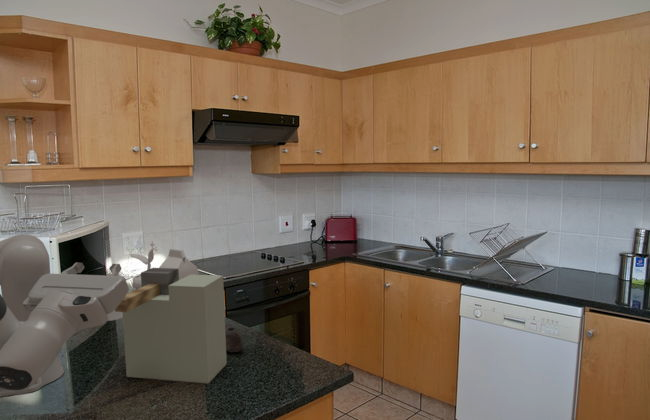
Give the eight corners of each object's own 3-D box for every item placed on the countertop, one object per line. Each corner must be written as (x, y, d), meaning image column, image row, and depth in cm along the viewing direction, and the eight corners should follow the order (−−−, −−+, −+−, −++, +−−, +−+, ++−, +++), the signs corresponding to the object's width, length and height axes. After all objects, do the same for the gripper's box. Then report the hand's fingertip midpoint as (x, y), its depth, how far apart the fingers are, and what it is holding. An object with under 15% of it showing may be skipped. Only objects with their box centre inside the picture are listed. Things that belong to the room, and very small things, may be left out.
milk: (156, 319, 174) (152, 250, 171) (181, 311, 183) (178, 245, 181) (178, 325, 167) (174, 254, 165) (202, 316, 177) (199, 248, 174)
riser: (208, 383, 123) (204, 287, 120) (126, 376, 128) (120, 283, 125) (226, 364, 134) (223, 275, 132) (151, 358, 139) (146, 273, 136)
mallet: (135, 312, 113) (133, 288, 112) (106, 311, 115) (104, 287, 114) (179, 289, 133) (178, 268, 133) (154, 288, 135) (153, 267, 134)
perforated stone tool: (219, 340, 153) (218, 319, 152) (235, 337, 155) (234, 317, 154) (226, 357, 139) (225, 335, 138) (243, 354, 141) (242, 332, 140)
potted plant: (167, 295, 206) (164, 239, 203) (155, 303, 194) (151, 243, 192) (140, 294, 207) (136, 239, 205) (126, 302, 196) (122, 243, 193)
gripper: (25, 319, 98) (65, 273, 109) (111, 324, 94) (144, 276, 105) (10, 298, 95) (52, 253, 106) (99, 303, 91) (134, 255, 102)
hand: (99, 265), depth 105 cm, fingers open, 8 cm apart
